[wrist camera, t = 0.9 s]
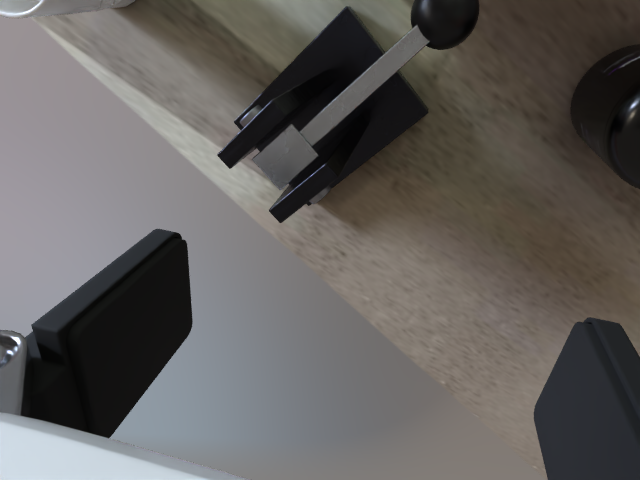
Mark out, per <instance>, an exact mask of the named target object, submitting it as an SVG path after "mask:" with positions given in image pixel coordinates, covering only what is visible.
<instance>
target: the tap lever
mask: <svg viewBox="0 0 640 480" xmlns="http://www.w3.org/2000/svg"><path fill="white" fill-rule="evenodd" d="M478 16H479V0H414V3H413V6H412V11H411V24H412V29H411V30H410V31H409V32H408V33H407V34H406V35H404V36H403V37H402V38H401V39H400V40H399V41H398V42H397V43H396V44H394V45H393V46H392V47H391V48H390V49H389V50H388V51H387V52H386V53H385V54H383V55H382V56H381V57H380V58H379V59H378V60H377V61H376V62H375V63H374V64H372V65H371V66H370V67H369V68H368V69H367V70H366V71H365V72H364V73H363V74H361V75H360V76H359V77H358V78H357V79H356V80H355V81H354V82H353V83H351V84H350V85H349V86H348V87H347V88H346V89H345V90H344V91H343V92H342V93H340V94H339V95H338V96H337V97H336V98H335V99H334V100H333V101H332V102H331V103H329V104H328V105H327V106H326V107H325V108H324V109H323V110H322V111H321V112H319V113H318V114H317V115H316V116H315V117H314V118H313V119H312V120H311V121H310V122H308V123H307V124H306V125H305V126H304V127H303V128H302V129H301V130H300V131H299V130H298V129H297V128H296V127H295V126H294V125H293V124H290V125H289V126H288V127H287V128H286V129H285V130H284V131H282V132H281V133H280V134H279V135H278V136H277V137H276V138H275V139H274V140H273V141H271V142H270V143H269V144H268V145H267V146H266V147H265V148H264V149H263V150H262V151H261V152H259V153H258V154H257V155H256V156H255V157H254V158H253V159H252V160H253V161H254V162H255V163H256V165H257V166H258V167H259V168H260V169H261V170H262V171H263V172H264V173H265V175H266V176H267V177H268V178H269V179H270V180H271V181H272V182H273V183H274V185H275V186H276V187H277V188H278V189H279V190H281V189H282V188H283V187H285V186H286V185H287V184H288V183H289V182H290V181H291V180H292V179H294V178H295V177H296V176H297V175H298V174H299V173H300V172H301V171H303V170H304V169H305V168H306V167H307V166H308V165H309V164H310V163H312V162H313V161H314V160H315V159H316V158H317V157H318V156H319V155H318V153H317V151H316V150H315V149H314V148H313V147H312V146H314V145H315V144H316V143H317V142H318V141H320V140H321V139H322V138H323V137H324V136H325V135H326V134H327V133H329V132H330V131H331V130H332V129H333V128H334V127H335V126H336V125H337V124H339V123H340V122H341V121H342V120H343V119H344V118H345V117H346V116H348V115H349V114H350V113H351V112H352V111H353V110H354V109H355V108H356V107H358V106H359V105H360V104H361V103H362V102H363V101H364V100H365V99H367V98H368V97H369V96H370V95H371V94H372V93H373V92H374V91H376V90H377V89H378V88H379V87H380V86H381V85H382V84H383V83H384V82H386V81H387V80H388V79H389V78H390V77H391V76H392V75H393V74H395V73H396V72H397V71H398V70H399V69H400V68H401V67H402V66H403V65H405V64H406V63H407V62H408V61H409V60H410V59H411V58H412V57H414V56H415V55H416V54H417V53H418V52H419V51H420V50H421V49H422V48H424V47H425V46H427V47H429V48H432V49H437V50H445V49H449V48H453V47H455V46H457V45H459V44H460V43H462V42H463V41H464V40H465V39H466V38H467V37H468V36H469V35H470V34H471V32H472V31H473V29H474V27H475V25H476V23H477V20H478Z"/></svg>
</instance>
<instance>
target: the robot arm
mask: <svg viewBox="0 0 640 480" xmlns="http://www.w3.org/2000/svg"><path fill="white" fill-rule="evenodd" d="M191 328H192V308H191V294H190V279H189V265H188V250H187V243H186V241H185V240H182V237H181V235H180V234H179V233H176V232H171V231H166V230H162V229H155V230H153V231H152V232H151V233H150V234H148V235H147V236H146V237H144V238H143V239H142V240H140V241H139V242H138V243H137V244H135V245H134V246H133V247H131V248H130V249H129V250H127V251H126V252H125V253H124V254H122V255H121V256H120V257H118V258H117V259H116V260H115V261H113V262H112V263H111V264H110V265H108V266H107V267H106V268H104V269H103V270H102V271H100V272H99V273H98V274H97V275H95V276H94V277H93V278H91V279H90V280H89V281H88V282H86V283H85V284H84V285H82V286H81V287H80V288H79V289H77V290H76V291H75V292H73V293H72V294H71V295H69V296H68V297H67V298H66V299H64V300H63V301H62V302H60V303H59V304H58V305H57V306H55V307H54V308H53V309H51V310H50V311H49V312H48V313H46V314H45V315H44V316H42V317H41V318H40V319H38V320H37V321H36V322H35V323H33V324H32V329H33V332H32V333H30V334H29V335H28V336H26V337H25V338H24V337H23V336H22V335H21V334H20V333H17V332H14V331H8V330H0V480H250V479H247V478H243V477H240V476H237V475H233V474H230V473H226V472H223V471H220V470H216V469H213V468H209V467H206V466H202V465H199V464H195V463H192V462H188V461H185V460H182V459H178V458H175V457H171V456H168V455H165V454H161V453H157V452H154V451H151V450H147V449H144V448H141V447H137V446H134V445H130V444H127V443H123V442H120V441H116V440H113V439H109V438H110V437H111V435H112V434H113V433H114V432H115V430H116V429H117V428H118V426H119V425H120V424H121V422H122V421H123V420H124V419H125V417H126V416H127V415H128V413H129V412H130V410H132V408H133V407H134V406H135V404H136V403H137V402H138V400H139V399H140V398H141V396H142V395H143V394H144V393H145V391H146V390H147V389H148V387H149V386H150V385H151V383H152V382H153V381H154V380H155V378H156V377H157V376H158V374H159V373H160V372H161V370H162V369H163V368H164V366H165V365H166V364H167V363H168V361H169V360H170V359H171V357H172V356H173V355H174V353H175V352H176V351H177V349H178V348H179V347H180V346H181V344H182V343H183V342H184V340H185V339H186V338H187V336H188V335H189V333H190V331H191ZM534 422H535V426H536V430H537V435H538V439H539V443H540V447H541V452H542V456H543V460H544V464H545V469H546V473H547V477H548V480H640V357H639V355H638V353H637V352H636V350H635V348H634V347H633V345H632V343H631V341H630V340H629V338H628V336H627V335H626V333H625V331H624V329H623V328H622V326H621V325H620V324H618V323H615V322H610V321H605V320H601V319H596V318H591V317H590V318H587V319H586V320H585V321H584V322H577V323H576V324H575V325H574V326H573V328H572V330H571V332H570V335H569V337H568V339H567V341H566V343H565V345H564V347H563V349H562V351H561V353H560V355H559V357H558V359H557V361H556V364H555V366H554V368H553V370H552V372H551V374H550V376H549V378H548V380H547V382H546V384H545V386H544V388H543V390H542V393H541V395H540V397H539V399H538V401H537V403H536V405H535V409H534Z"/></svg>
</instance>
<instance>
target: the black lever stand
mask: <svg viewBox="0 0 640 480" xmlns="http://www.w3.org/2000/svg"><path fill="white" fill-rule="evenodd" d="M383 54H385V52H384V50H383V49H382V48H381V46H380V45H379V44H378V43H377V41H376V40H375V39H374V37H373V36H372V35H371V33H370V32H369V31H368V29H367V28H366V27H365V26H364V24H363V23H362V22H361V20H360V19H359V18H358V16H357V15H356V14H355V12H354V11H353V10H352V9H351V7H350V6H346V7H345V8H344V9H343V10H342V11H341V12H340V13H339V14H338V15H337V16H336V17H335V18H334V19H333V20H332V22H331V23H330V24H329V25H328V26H327V27H326V28H325V29H324V30H323V31H322V32H321V33H320V34H319V35H318V36H317V37H316V38H315V39H314V40H313V41H312V42H311V43H310V44H309V45H308V46H307V47H306V48H305V49H304V50H303V51H302V52H301V53H300V54H299V55H298V56H297V57H296V58H295V59H294V61H293V62H292V63H291V64H290V65H289V66H288V67H287V68H286V69H285V70H284V71H283V72H282V73H281V74H280V75H279V76H278V77H277V78H276V79H275V80H274V81H273V82H272V83H271V84H270V85H269V86H268V87H267V88H266V89H265V90H264V91H263V92H262V93H261V94H260V95H259V96H258V97H257V99H256V100H255V101H254V102H253V103H252V104H251V105H250V106H249V107H248V108H247V109H246V110H245V111H244V112H243V113H242V114H241V115H240V116H239V117H238V118H237V119H236V120H235V121H234V123H235V124H236V125H237V126H238V128H239V129H240V130H241V131H240V132H239V133H238V134H237V135H236V136H235V137H234V138H233V139H232V140H231V141H230V142H229V143H228V144H227V145H226V146H225V147H224V148H223V149H222V150H221V151H220V152H219V153H218V154H217V156H218V157H219V158H220V159H221V160H222V161H223V162H224V163H225V164H226V165H227V166H228V168H229V169H231V168H232V167H233V166H235V165H236V164H237V163H238V162H240V161H241V160H242V159H244V158H245V157H246V156H247V155H249V154H250V153H251V152H252V151H254V150H255V149H256V148H257V149H258V150H259V151H260V152H261V151H262V150H263V149H264V148H265V147H266V146H267V145H268V144H269V143H270V142H271V141H273V140H274V139H275V138H276V137H277V136H278V135H279V134H280V133H281V132H282V131H284V130H285V129H286V128H287V127H288V126H289V125H290V124H293V125H294V126H295V127H296V128H297V129H298V130H299V131H300V130H301V129H302V128H303V127H304V126H305V125H306V124H307V123H308V122H310V121H311V120H312V119H313V118H314V117H315V116H316V115H317V114H318V113H319V112H321V111H322V110H323V109H324V108H325V107H326V106H327V105H328V104H329V103H331V102H332V101H333V100H334V99H335V98H336V97H337V96H338V95H339V94H340V93H342V92H343V91H344V90H345V89H346V88H347V87H348V86H349V85H350V84H351V83H353V82H354V81H355V80H356V79H357V78H358V77H359V76H360V75H361V74H363V73H364V72H365V71H366V70H367V69H368V68H369V67H370V66H371V65H372V64H374V63H375V62H376V61H377V60H378V59H379V58H380V57H381V56H382V55H383ZM427 113H428V108H427V106H426V105H425V104H424V103H423V101H422V100H421V99H420V97H419V96H418V95H417V93H416V92H415V91H414V90H413V88H412V87H411V86H410V84H409V83H408V82H407V80H406V79H405V78H404V76H403V75H402V74H401V73H400V71H399V70H398V71H397V72H396V73H395V74H393V75H392V76H391V77H390V78H389V79H388V80H387V81H386V82H384V83H383V84H382V85H381V86H380V87H379V88H378V89H377V90H376V91H374V92H373V93H372V94H371V95H370V96H369V97H368V98H367V99H365V100H364V101H363V102H362V103H361V104H360V105H359V106H358V107H356V108H355V109H354V110H353V111H352V112H351V113H350V114H349V115H348V116H346V117H345V118H344V119H343V120H342V121H341V122H340V123H339V124H337V125H336V126H335V127H334V128H333V129H332V130H331V131H330V132H329V133H327V134H326V135H325V136H324V137H323V138H322V139H321V140H320V141H318V142H317V143H316V144H315V145H314V146H312V147H313V148H314V149H315V150H316V151H317V153H318V155H319V156H318V157H317V158H316V159H315V160H314V161H313V162H312V163H310V164H309V165H308V166H307V167H306V168H305V169H304V170H303V171H301V172H300V173H299V174H298V175H297V176H296V177H295V178H294V179H292V180H291V181H290V182H289V183H288V184H289V186H288V188H287V189H286V190H285V191H284V192H283V194H282V195H281V196H280V197H279V198H278V200H277V201H276V202H275V203H274V204H273V206H272V207H271V208H270V209H269V212H270V213H271V214H272V215H273V216H274V217H275V218H276V219H277V220H278V221H279V222H280V223H282V222H283V221H284V220H286V219H287V218H288V217H289V216H291V215H292V214H293V213H295V212H296V211H297V210H298V209H300V208H301V207H302V206H303V205H305V204H307V205H308V206H310V205H311V204H315V203H317V202H318V201H320V200H321V199H322V198H323V197H324V196H325V195H326V194H327V193H328V192H329V191H330V189H331V188H333V187H334V186H335V185H336V184H338V183H339V182H340V181H342V180H343V179H344V178H345V177H347V176H348V175H349V174H351V173H352V172H353V171H354V170H356V169H357V168H358V167H360V166H361V165H362V164H363V163H365V162H366V161H367V160H368V159H370V158H371V157H372V156H374V155H375V154H376V153H377V152H379V151H380V150H381V149H383V148H384V147H385V146H386V145H388V144H389V143H390V142H392V141H393V140H394V139H395V138H397V137H398V136H399V135H401V134H402V133H403V132H404V131H406V130H407V129H408V128H410V127H411V126H412V125H413V124H415V123H416V122H417V121H418V120H420V119H421V118H422V117H424V116H425V115H426V114H427Z"/></svg>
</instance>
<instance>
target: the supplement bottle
mask: <svg viewBox="0 0 640 480" xmlns="http://www.w3.org/2000/svg"><path fill="white" fill-rule="evenodd" d="M571 120H572V123H573V126H574V128H575V130H576V132H577V134H578V135H579V136H580V138H581V139H582V140H583V141H584V142H585V143H586V144H587V145H588V146H589V147H590V148H591V149H592V150H593V151H594V152H595V153H596V154H597V155H598V156H599V157H600V158H601V159H602V160H603V161H604V162H605V163H606V164H607V165H608V166H609V167H610V168H611V169H612V170H613V171H614V172H615V173H616V174H617V175H618V176H619V177H620V178H621V179H623V180H624V181H625V182H627V183H628V184H630V185H632V186H634V187H635V188H638V189H640V44H638V45H632V46H628V47H625V48H621V49H619V50H616V51H614V52H612V53H610V54H609V55H607V56H605V57H604V58H602V59H601V60H599V61H598V62H597V63H596V64H594V65H593V66H592V67H591V68H590V69H589V70H588V71H587V72H586V74H585V75H584V76H583V77H582V79H581V80H580V82H579V83H578V85H577V87H576V89H575V92H574V94H573V98H572V102H571Z"/></svg>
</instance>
